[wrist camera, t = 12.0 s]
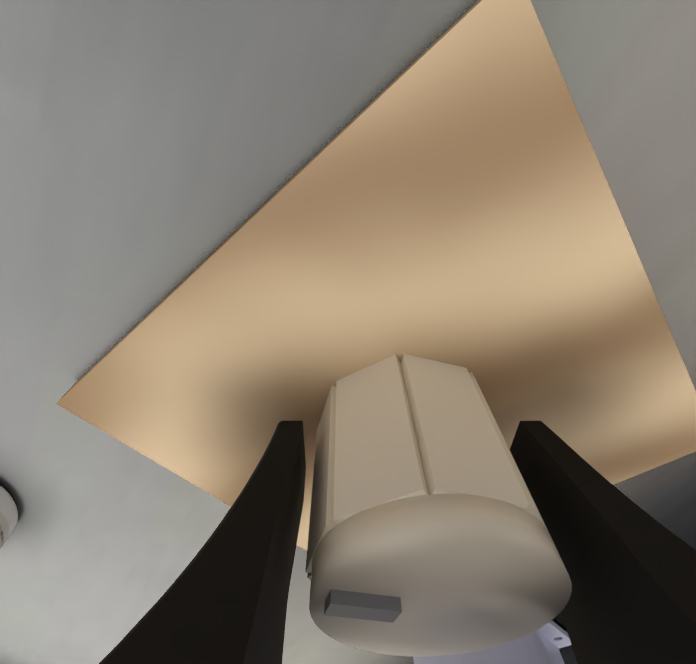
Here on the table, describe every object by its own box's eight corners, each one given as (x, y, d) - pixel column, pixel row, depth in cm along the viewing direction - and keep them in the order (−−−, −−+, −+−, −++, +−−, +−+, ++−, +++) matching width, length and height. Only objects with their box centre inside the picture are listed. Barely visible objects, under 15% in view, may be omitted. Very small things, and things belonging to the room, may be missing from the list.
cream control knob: (517, 379, 11) (640, 574, 6) (446, 486, 13) (496, 678, 9) (346, 340, 10) (349, 531, 6) (305, 462, 13) (285, 659, 8)
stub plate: (693, 420, 13) (717, 442, 12) (364, 562, 18) (365, 585, 17) (494, -17, 7) (516, -33, 6) (76, 382, 12) (55, 403, 11)
